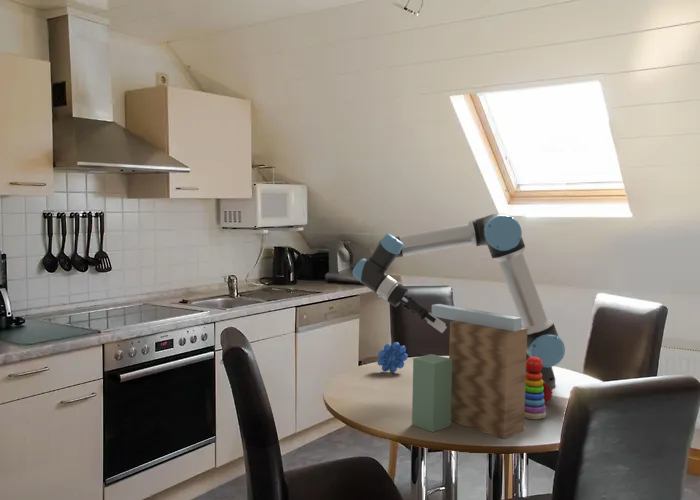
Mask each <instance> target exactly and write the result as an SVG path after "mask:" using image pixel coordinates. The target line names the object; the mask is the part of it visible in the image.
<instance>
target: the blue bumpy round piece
mask: <svg viewBox="0 0 700 500" xmlns="http://www.w3.org/2000/svg"><path fill="white" fill-rule="evenodd" d="M406 350H407V347H406V346H405V345H400V343H399V342H398V341H395V342H393V343H392V344H391V343H385V344H384V346H383V349H381V350H379V352H378V353H377V355H378V357H379V358H378V359H377V361H376V363H377V365H378V366H381V370H382V371H383V372H388V371H389V372H390V373H393V374H394V373H395V372H397V370H398V369H403V368H404V366H405V361H407V359H408V358H409V355H408V354H407V353H406Z"/></svg>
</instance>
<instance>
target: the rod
mask: <svg viewBox="0 0 700 500" xmlns="http://www.w3.org/2000/svg"><path fill="white" fill-rule="evenodd" d="M431 316H434V317H437V318H438V319H445V320H451V321H461V322H466V323H471V324H477V325H482V326H487V327H493V328H498V329H504V330H509V331H518V330H521V319H522V318H521V317H519V316H513V315H509V314H501V313H497V312H489V311H484V310H478V309H472V308H466V307H459V306H454V305H449V304H443V303H436V304H432V305H431Z"/></svg>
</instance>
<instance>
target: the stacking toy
mask: <svg viewBox="0 0 700 500" xmlns="http://www.w3.org/2000/svg"><path fill="white" fill-rule="evenodd" d="M542 367H543V363H542V361H541V359H540V358H538V357H534V356H533V357H530V358H528V359H527V361H526V368H527V370H528V371H527V372H526V380H525V408H524V419H528V418H529V419H528V420H541V418H542V419H544V418H546V416H547V412H546V410H547V406H546V405H545V404H546V403H545V400H544V398H543V397H544V393H543V390H544V388H543V386H542V385H543V380H542V379H541V378H542V373H540V371H541V369H542ZM544 403H545V404H544Z"/></svg>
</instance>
